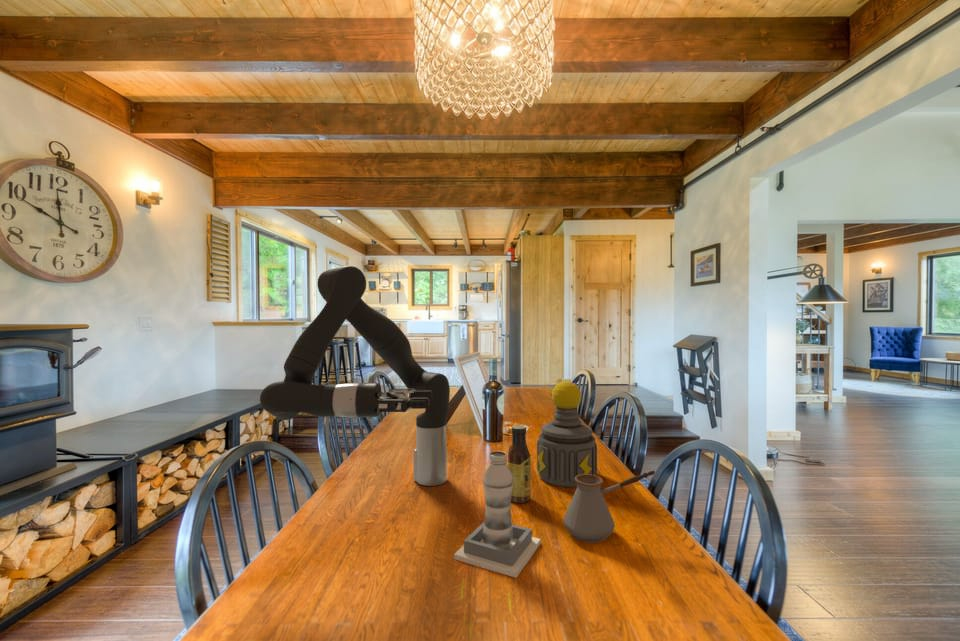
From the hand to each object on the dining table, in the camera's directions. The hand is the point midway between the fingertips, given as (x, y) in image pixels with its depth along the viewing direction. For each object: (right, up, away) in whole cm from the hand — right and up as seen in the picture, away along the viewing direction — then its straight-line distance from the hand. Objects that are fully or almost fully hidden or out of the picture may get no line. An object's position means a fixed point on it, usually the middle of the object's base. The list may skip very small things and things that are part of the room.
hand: (430, 399), depth 96 cm
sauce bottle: (+22, -32, +22) cm, 44 cm away
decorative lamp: (+38, -32, +38) cm, 63 cm away
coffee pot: (+41, -32, +3) cm, 52 cm away
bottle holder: (+15, -32, -4) cm, 36 cm away
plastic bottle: (+15, -31, -4) cm, 35 cm away
